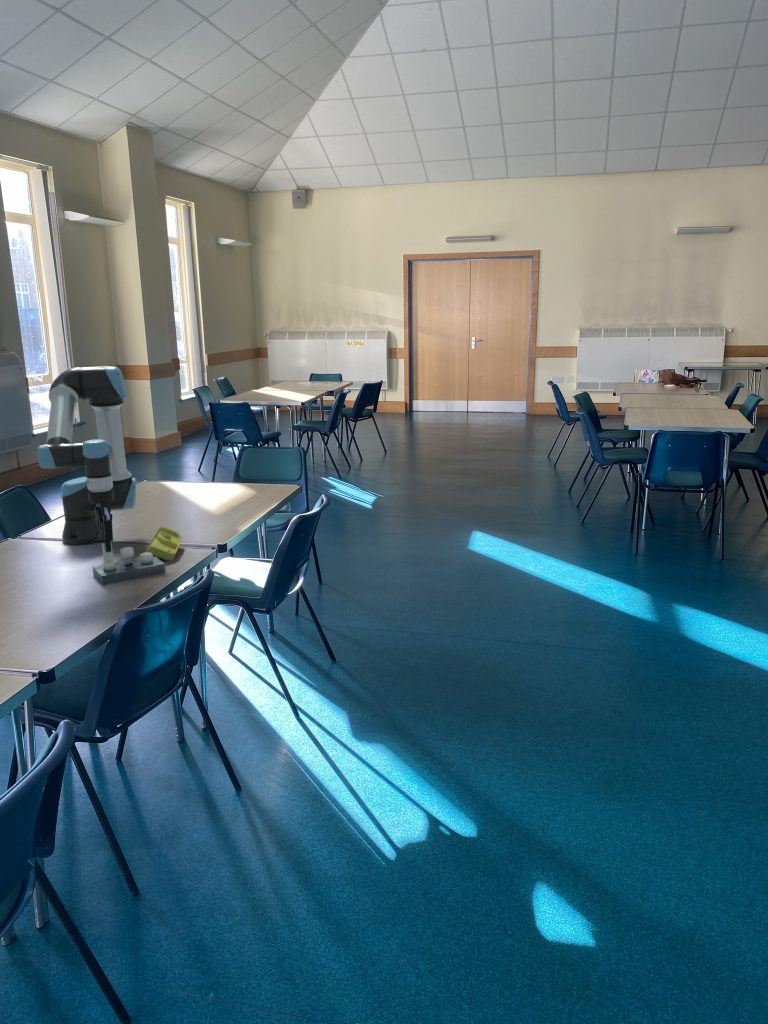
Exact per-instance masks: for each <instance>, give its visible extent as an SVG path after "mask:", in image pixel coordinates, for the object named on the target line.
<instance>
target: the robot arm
mask: <svg viewBox="0 0 768 1024" xmlns="http://www.w3.org/2000/svg"><path fill="white" fill-rule="evenodd" d="M127 396H128V394H127V388H126V382H125V380H124V375H123V373H122V370H121V369H120V368H119V367H117V366H110V365H109V366H108V365H102V366H100V365H99V366H84V367H83V366H82V367H79V366H77V367H76V366H75V367H72V368H69V369H66V370H65V371H63V372H61V373H60V374H59V375H58V376H57V377H56V378H55V379H54V380H53V382H51V385H50V387H49V391H48V400H49V402H50V408H49V409H50V410H49V417H48V427H47V428H48V429H47V435H46V436H47V437H46V442H45V443H46V444H40V445H39V446H38V447H37V452H36V453H37V461H38V465H39V467H40V468H42V469H62V468H63V469H64V468H78V467H84V470H85V476H81V477H76V478H73V479H70V480H67V481H65V482H64V483H63V484H62V485H61V489H60V492H61V495H60V498H61V499H62V506H63V515H64V526H63V530H62V535H61V537H62V539H61V540H62V543H63V544H65V545H69V546H78V545H79V546H81V545H88V544H89V545H90V544H94V543H96V542H97V543H98V542H100V543H101V547H102V549H101V550H102V558H103V561H104V562H108V561H113V560H115V559H114V553H113V552H114V551H113V543H112V542H113V541H114V534H113V533H114V531H113V530H114V529H113V514H112V513H111V512H112V511H124V510H132V509H133V508H135V505H136V499H137V478H135V477H133V475H132V473H131V472H130V471H129V469H127V460H126V452H125V444H124V434H123V425H122V417H121V409H120V408H121V407H122V406H123V405H124V400H125V399H127ZM79 401H88V403H89V407H91V408H92V409H94V414H95V415H94V416H95V421H96V422H95V423H96V430H97V431H96V432H97V436H98V439H97V438H96V439H88V440H86V441H83V442H76V443H73V432H74V423H75V422H74V419H75V408H76V406H77V405H78V402H79Z"/></svg>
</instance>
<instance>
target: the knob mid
mask: <svg viewBox="0 0 768 1024" xmlns="http://www.w3.org/2000/svg"><path fill="white" fill-rule="evenodd" d="M119 550H120V551H119V552H120V558H122V559H124V560H126V565H130V564H131V563H130V559H132V558H134V556H135V554H134V552H135V551H134V547H131V546H125V547H122V548H120V549H119Z"/></svg>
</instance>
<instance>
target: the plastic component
mask: <svg viewBox="0 0 768 1024" xmlns="http://www.w3.org/2000/svg"><path fill="white" fill-rule="evenodd" d="M181 542H182V535H181V534H180V533H179V532H177V531H175V530H173V529H171V528H168V527H166V526H160V527H159V528H158V530H157V531H156V533H155V535H154V536H153V538H152V539H151V542H150V543H149V545H148V546H147V548H146V550H145V551H144V553H146V552H150V553H152V555H154V556H155V557H157V558H158V559H162V560H164V561H170V562H171V561H173V560H174V559H175V557H176V555H177V552H178V549H179V547H180V545H181Z"/></svg>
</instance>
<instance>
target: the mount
mask: <svg viewBox="0 0 768 1024" xmlns="http://www.w3.org/2000/svg"><path fill="white" fill-rule="evenodd" d="M130 563H131V564H130V565H126V559H124V560H118V561H116V569H114V570H109V571H106V570H103V564H102V563H101V564H96V565H92V574H93V576H94V577H95V578H96V580H98V581H99V582H100V584H101V585H102V586H106V585H111V584H115V583H120V582H121V583H122V582H127V581H130V580H136V579H141V578H145V577H150V576H156V575H159V574H164V573H166V568H165V567H166V566H165V563H164V562H163V561H161V560H160V558H159V557H156V556H154V555H153V562H151V563H141V562H140V556H138V557H132V558H130Z"/></svg>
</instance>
